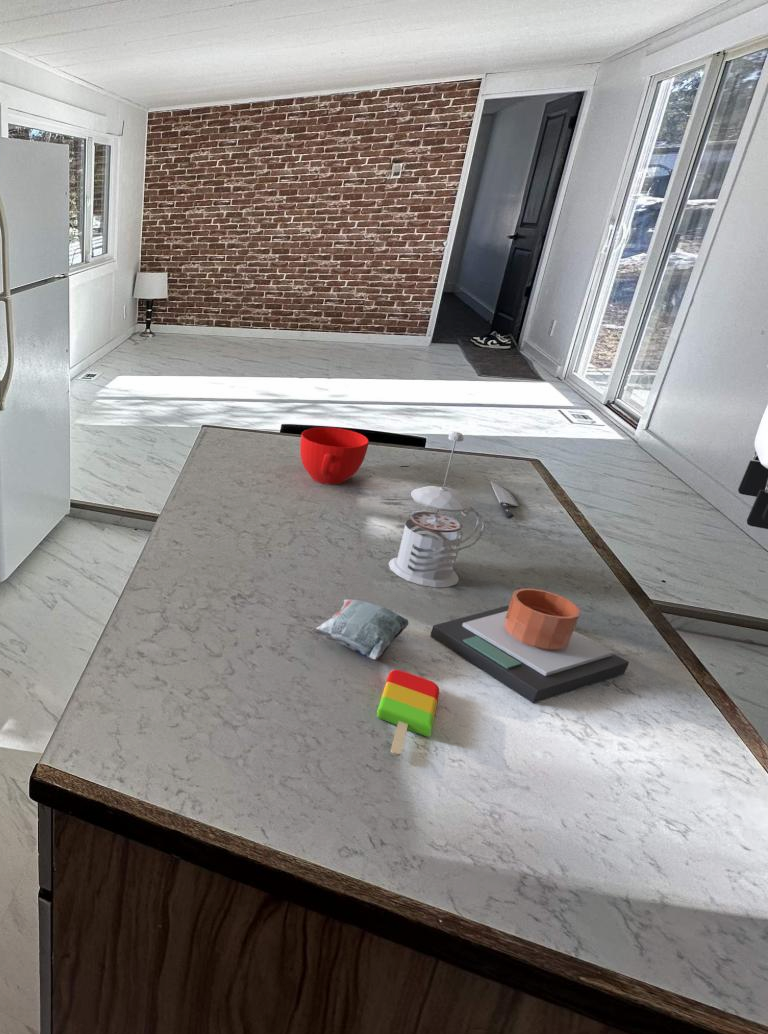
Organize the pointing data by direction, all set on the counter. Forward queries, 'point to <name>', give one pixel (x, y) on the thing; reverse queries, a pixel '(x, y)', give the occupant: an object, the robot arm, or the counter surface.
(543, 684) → the scale
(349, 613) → the packaged food
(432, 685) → the popsicle
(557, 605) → the bowl
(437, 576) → the french press
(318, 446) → the ceramic cup
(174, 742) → the counter surface
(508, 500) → the chef's knife
